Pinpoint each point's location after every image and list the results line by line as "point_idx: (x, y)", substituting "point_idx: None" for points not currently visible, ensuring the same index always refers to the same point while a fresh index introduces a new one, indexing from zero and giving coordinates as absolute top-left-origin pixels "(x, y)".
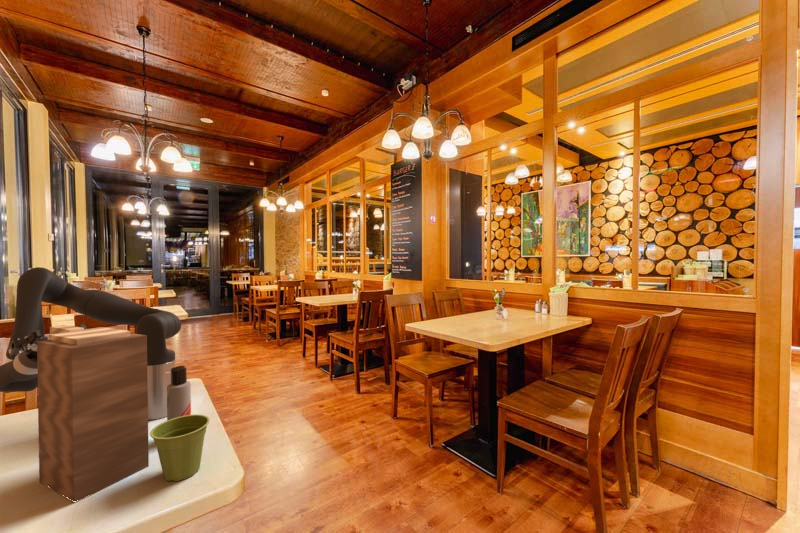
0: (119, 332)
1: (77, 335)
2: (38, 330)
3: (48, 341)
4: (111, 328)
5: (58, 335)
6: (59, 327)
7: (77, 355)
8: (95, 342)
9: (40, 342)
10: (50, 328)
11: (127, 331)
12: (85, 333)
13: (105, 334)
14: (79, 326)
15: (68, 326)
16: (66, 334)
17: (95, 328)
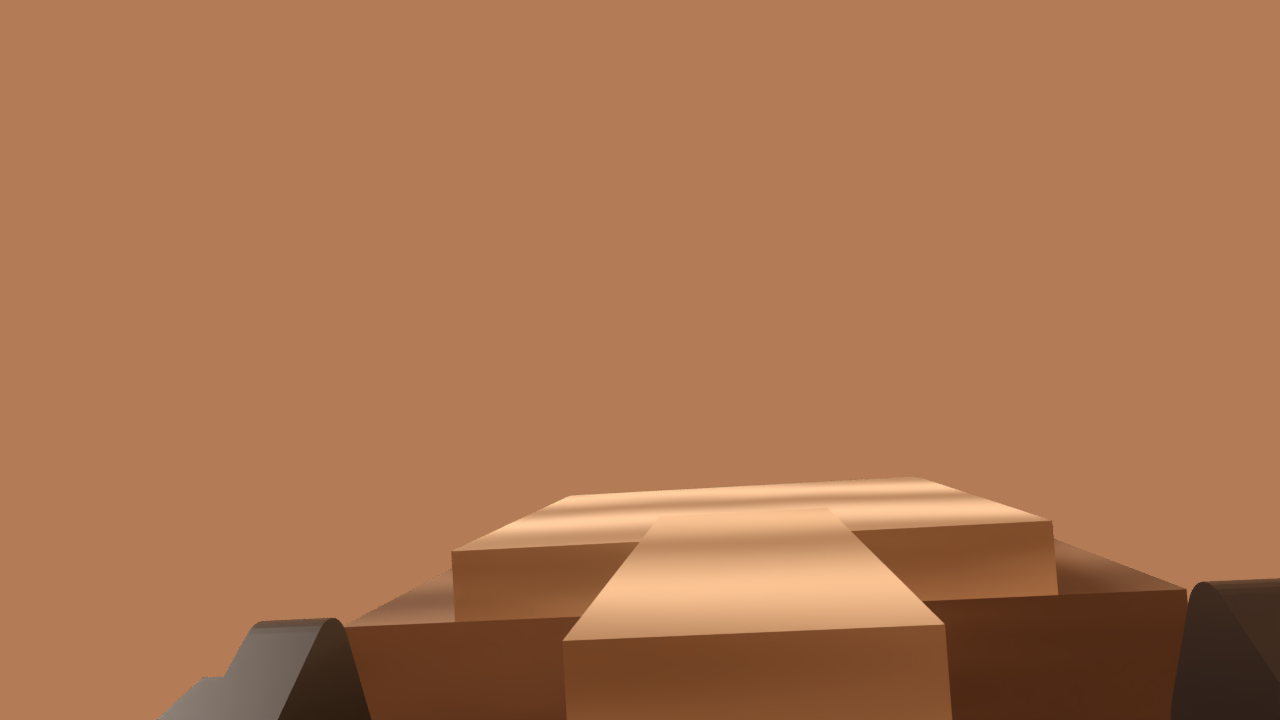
0: (639, 492)
1: (862, 494)
2: (1214, 592)
3: (1070, 569)
4: (515, 522)
5: (978, 503)
6: (822, 564)
7: None
8: None
9: (1145, 577)
10: (939, 670)
11: (589, 495)
12: (784, 502)
13: (729, 488)
14: (317, 699)
15: (672, 567)
16: (909, 506)
17: (563, 538)
